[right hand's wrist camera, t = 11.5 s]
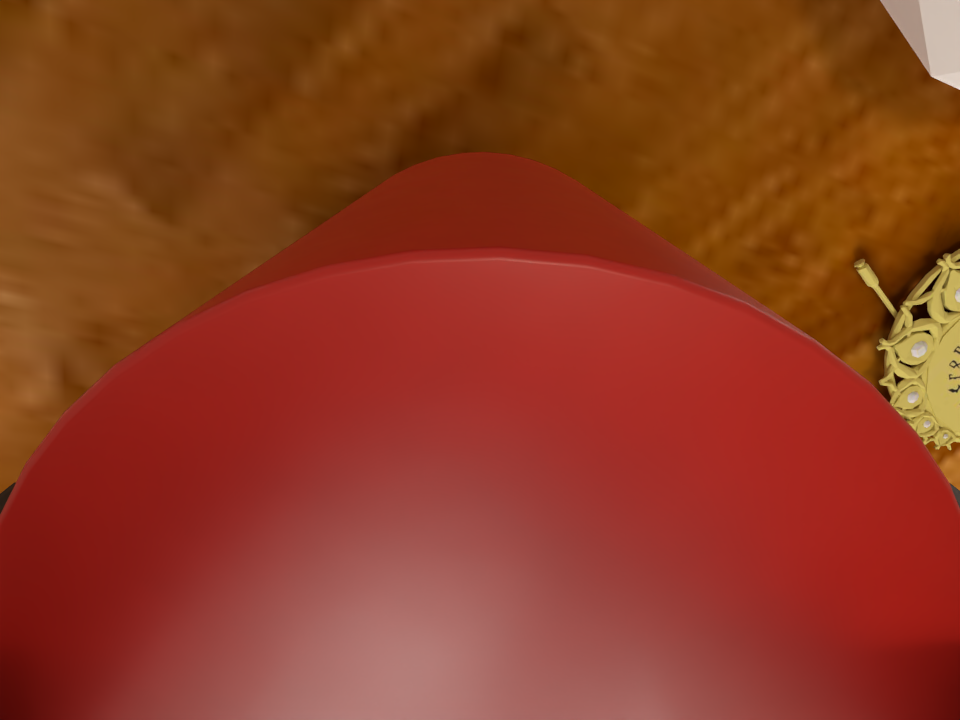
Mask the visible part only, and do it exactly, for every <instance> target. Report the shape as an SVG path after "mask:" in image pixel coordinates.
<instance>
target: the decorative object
mask: <svg viewBox="0 0 960 720" xmlns="http://www.w3.org/2000/svg"><path fill="white" fill-rule="evenodd" d="M959 259H960V249H959V250H957V251H955V252H954V253H952V254H949V253H945V254H944V255H943V259H938V260H937V261H936V263H937V264H938V265H937V266H935V267H934V268H933V269H932V270H931V271H930V272H929V273H927V274H926V275H925V276H924V278H923V279H922V280H921V281H920V282H919V283H918V285H917V286H916V287H915V288H914V289H913V291H912V292H911V293H910V294H909V296H908V297H907V299H906V300H905V301H904V302H903V305H901V306H900V307H901V309H900V311H899V312H897V311H896V310H895V308H894V307H893V305H892V304H891V302H890V301H889V300H888V298H887V297H886V295H885V294H884V293H883V291H882V290H881V288H880V287H879V285H878V283H879V281H878V278H877V277H876V275H875V274H874V272H873V271H872V269H871V268H870V267H869V265H868V264H867V263H865V260H864V259H860V260H858V261H856V262H855V263H854V266H855V267H857V269H856V270H857V271H858V273H859V274H860V276H861V277H862V278H863V280H864V281H865V283H866V284H867V285H868V286H870V287H873V288H874V290H875V291H876V293H877V294H878V295H879V297H880V298H881V300H882V301H883V302H884V304H885V305H886V307H887V308H888V309H889V311H890V312H891V314H892V315H893V317H894V318H895V321H894V323H893V326H892V328H891V331H890V333H889V336H888V340H887V341H886V340H885V339H883V338H881V339H879V342H880V343H881V344H880V345H878V346H877V349H878V350H882V349H886V351H885V356H884V374H885V376H884V377H883V378H882V379H880V380H879V384H880V385H884V386H887V388H888V392H889V395H890V397H891V400H890V404H891V405H892V406H893V407H894V408H895V409H896V410H897V412H898V413H899V414H900V415H901V416H902V417H903V418H905V419H906V420H907V422H908V423H909V425H910V426H911V427H912V428H913V429H914V430H915V431H916V432H917V434H918V435H919V437H923V443H924V444H925V445H926V444H927V443H928V442H930V441H934V442H935V444H936V445H935V446H934V448H936V449H938V450H939V448H940V446H944V445H946V446H947V447H948V449H949V450H951V445H949V444H951V443H952V442H954V441H955V442H960V270H954V269H960V262H956V263H955V261H957V260H959ZM949 268H951V269H949ZM939 274H940V275H939ZM938 275H939V277H938V279H937V280H936V282H935V284H934V286H933V288H932V291H929V292H927V293H925V294H924V295H922V296H921V297H919V296H920V295H921V294H922V293H923V292H924V290H925V289H926V288H927V287H928V286H929V284H930V283H931V282H932V281H933V280H934V279H935V277H936V276H938ZM918 297H919V298H918ZM927 300H928V301H927ZM926 301H927V310H928V313H929V316H930V317H931V318H926V319H919V320H916V321H913V322H912V320H913V316H912V314H911V313H910V309H911V308H912V306H913V305H919V304H923V303H924V302H926ZM943 306H944V307H945V308H946V309H948V310H951V311H952V312H945V311H944V307H943ZM904 321H905V322H904ZM901 328H902V330H901ZM923 330H929V331H930V333H931V335H929V334H927V333H925V332H923ZM915 331H917V332H915ZM895 352H896V354H897V358H896V355H895ZM899 361H902V362H903V363H906V364H909V365H915V366H913V367H911V368H910V367H908V366H905V365H903V364H901V363H899ZM894 372H895V373H896V375H897V376H899V377H903V378H904V379H903V380H902V381H900V382H899V383H898V384H897V386H896V383H895V379H894ZM914 407H915V408H914ZM927 436H928V437H929V436H933V437H934V438H927Z"/></svg>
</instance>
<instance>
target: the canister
mask: <svg viewBox="0 0 960 720" xmlns="http://www.w3.org/2000/svg"><path fill="white" fill-rule="evenodd" d="M0 720H960V508H959V505H958V503H957V500H956V498H955V496H954V493H953V491H952V488H951V486H950V483H949V482H948V480H947V479H946V477H945V476H944V474H943V473H942V471H941V469H940V468H939V466H938V465H937V463H936V462H935V460H934V459H933V457H932V455H931V454H930V452H929V451H928V449H927V448H926V446H925V445H924V443H923V441H922V440H921V438H920V437H919V435H918V434H917V432H916V431H915V430H914V429H913V428H912V427H911V426H910V425H909V423H908V422H907V421H906V420H905V419H904V418H903V417H902V416H901V415H900V414H899V413H898V412H897V410H896V409H895V408H894V407H893V406H892V405H891V404H890V403H889V402H888V401H887V400H886V399H885V398H884V396H883V395H882V394H881V393H880V392H879V391H878V390H877V389H876V388H875V387H874V386H873V385H872V383H870V382H869V381H868V380H866V379H865V378H864V377H863V376H861V375H860V374H859V373H857V372H856V371H855V370H854V369H852V368H851V367H850V366H848V365H847V364H846V363H845V362H843V361H842V360H841V359H839V358H838V357H837V356H836V355H834V354H833V353H832V352H830V351H829V350H828V349H827V348H825V347H824V346H823V345H821V344H820V343H819V342H817V341H816V340H815V339H813V338H812V337H810V336H809V335H807V334H806V333H804V332H803V331H801V330H800V329H798V328H797V327H795V326H794V325H792V324H791V323H789V322H788V321H786V320H785V319H783V318H782V317H780V316H779V315H777V314H776V313H774V312H773V311H771V310H770V309H768V308H767V307H765V306H764V305H762V304H761V303H759V302H758V301H756V300H755V299H753V298H752V297H750V296H749V295H747V294H746V293H744V292H743V291H741V290H740V289H738V288H737V287H735V286H734V285H732V284H731V283H729V282H728V281H726V280H725V279H723V278H722V277H720V276H719V275H717V274H716V273H714V272H713V271H711V270H710V269H708V268H707V267H705V266H704V265H702V264H701V263H699V262H698V261H696V260H695V259H693V258H692V257H690V256H689V255H687V254H686V253H684V252H683V251H681V250H680V249H678V248H677V247H675V246H674V245H672V244H671V243H669V242H668V241H666V240H665V239H663V238H662V237H660V236H659V235H657V234H656V233H654V232H653V231H651V230H650V229H648V228H647V227H645V226H644V225H642V224H641V223H639V222H638V221H636V220H635V219H633V218H632V217H630V216H629V215H627V214H626V213H624V212H623V211H621V210H620V209H618V208H617V207H615V206H614V205H612V204H611V203H609V202H608V201H606V200H605V199H603V198H602V197H600V196H599V195H597V194H596V193H594V192H593V191H591V190H590V189H588V188H587V187H585V186H584V185H582V184H581V183H579V182H578V181H576V180H574V179H573V178H571V177H569V176H567V175H565V174H564V173H562V172H560V171H558V170H557V169H555V168H552V167H550V166H547V165H544V164H542V163H539V162H537V161H534V160H531V159H527V158H523V157H518V156H514V155H510V154H501V153H490V152H474V153H459V154H453V155H448V156H442V157H437V158H434V159H431V160H428V161H425V162H422V163H419V164H416V165H413V166H411V167H409V168H407V169H405V170H403V171H401V172H399V173H397V174H395V175H393V176H392V177H390V178H389V179H387V180H386V181H384V182H383V183H381V184H380V185H378V186H377V187H375V188H374V189H372V190H371V191H369V192H368V193H367V194H365V195H364V196H362V197H361V198H359V199H358V200H356V201H355V202H353V203H352V204H350V205H349V206H347V207H346V208H344V209H343V210H342V211H340V212H339V213H337V214H336V215H334V216H333V217H331V218H330V219H328V220H327V221H325V222H324V223H322V224H321V225H319V226H318V227H316V228H315V229H314V230H312V231H311V232H309V233H308V234H306V235H305V236H303V237H302V238H300V239H299V240H297V241H296V242H294V243H293V244H291V245H290V246H289V247H287V248H286V249H284V250H283V251H281V252H280V253H278V254H277V255H275V256H274V257H272V258H271V259H269V260H268V261H266V262H265V263H264V264H262V265H261V266H259V267H258V268H256V269H255V270H253V271H252V272H250V273H249V274H247V275H246V276H244V277H243V278H241V279H240V280H239V281H237V282H236V283H234V284H233V285H231V286H230V287H228V288H227V289H225V290H224V291H222V292H221V293H219V294H218V295H216V296H215V297H214V298H212V299H211V300H209V301H208V302H206V303H205V304H203V305H202V306H200V307H199V308H197V309H196V310H194V311H193V312H191V313H190V314H189V315H187V316H186V317H184V318H183V319H181V320H180V321H178V322H177V323H175V324H174V325H172V326H171V327H169V328H168V329H166V330H165V331H163V332H162V333H161V334H159V335H158V336H156V337H155V338H153V339H152V340H150V341H149V342H147V343H146V344H144V345H143V346H141V347H140V348H138V349H137V350H136V351H134V352H133V353H131V354H130V355H128V356H127V357H125V358H124V359H122V360H121V361H119V362H118V363H116V364H115V365H114V366H113V367H112V368H111V369H109V370H108V371H107V372H106V373H105V374H104V375H103V376H102V377H101V378H100V379H99V380H98V381H97V382H96V383H95V384H94V385H92V386H91V387H90V388H89V389H88V390H87V391H86V392H85V393H84V394H83V395H82V396H81V397H80V398H79V399H78V400H77V401H75V402H74V403H73V404H72V405H71V406H70V407H69V408H68V409H67V410H66V411H65V412H64V413H63V414H62V416H61V417H60V418H59V420H58V421H57V422H56V424H55V425H54V426H53V428H52V429H51V430H50V432H49V433H48V434H47V436H46V437H45V438H44V440H43V441H42V442H41V444H40V445H39V446H38V448H37V449H36V450H35V452H34V453H33V454H32V456H31V457H30V458H29V460H28V461H27V462H26V464H25V466H24V468H23V470H22V472H21V474H20V476H19V478H18V480H17V482H16V484H15V486H14V488H13V490H12V492H11V494H10V496H9V498H8V500H7V502H6V504H5V506H4V508H3V510H2V512H1V514H0Z"/></svg>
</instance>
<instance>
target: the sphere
mask: <svg viewBox="0 0 960 720" xmlns="http://www.w3.org/2000/svg"><path fill="white" fill-rule="evenodd" d="M880 1H881V2H882V4H883V5H884V7H885V8H886V10H887V11H888V13H889V14H890V16H891V17H892V19H893V20H894V22H895V23H896V25H897V26H898V28H899V29H900V31H901V32H902V34H903V35H904V37H905V38H906V40H907V41H908V43H909V44H910V46H911V47H912V49H913V50H914V52H915V53H916V55H917V56H918V58H919V59H920V61H921V62H922V64H923V65H924V67H925V68H926V70H927V71H928V73H929V74H930V76H931V77H933V78H935V79H937V80H940V81H942V82H944V83H946V84H948V85H951V86H953V87H955V88H957V89H959V90H960V0H880Z"/></svg>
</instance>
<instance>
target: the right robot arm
mask: <svg viewBox="0 0 960 720" xmlns="http://www.w3.org/2000/svg"><path fill="white" fill-rule="evenodd" d="M15 484H16V483H13V484H12V485H11V486H10V487H8V488H7V489H6V490H4V491H3V492H2V493H1V494H0V514H1V512H2V510H3V508H4V506H5V504H6V502H7V500H8V498H9V496H10V494H11V492H12V490H13V488H14V486H15ZM950 486H951V488H952V491H953V493H954V496H955V498H956V500H957V503H958V505H959V508H960V491H959V490H958V489H957V488H955V487H954V486H953V485H951V484H950Z"/></svg>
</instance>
